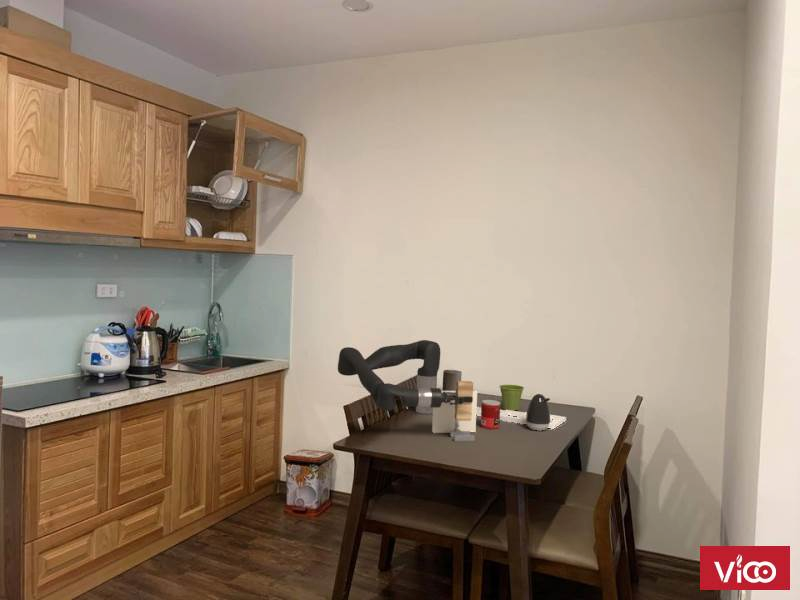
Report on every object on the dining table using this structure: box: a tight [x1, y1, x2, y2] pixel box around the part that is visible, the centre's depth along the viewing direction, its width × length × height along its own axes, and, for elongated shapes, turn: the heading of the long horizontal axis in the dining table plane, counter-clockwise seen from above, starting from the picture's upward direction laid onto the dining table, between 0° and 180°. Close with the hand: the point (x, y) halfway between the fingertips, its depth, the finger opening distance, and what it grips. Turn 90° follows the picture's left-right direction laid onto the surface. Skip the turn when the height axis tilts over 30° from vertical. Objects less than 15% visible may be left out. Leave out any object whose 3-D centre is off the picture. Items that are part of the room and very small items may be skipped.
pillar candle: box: [441, 368, 463, 391], centre depth 323 cm, size 10×10×15 cm
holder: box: [476, 406, 567, 430], centre depth 283 cm, size 45×18×3 cm, turn 58°
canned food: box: [480, 399, 501, 430], centre depth 263 cm, size 8×8×11 cm
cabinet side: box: [431, 390, 478, 442], centre depth 246 cm, size 14×18×17 cm
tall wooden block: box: [454, 380, 474, 421], centre depth 243 cm, size 4×6×15 cm, turn 100°
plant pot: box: [499, 384, 525, 411], centre depth 298 cm, size 12×12×11 cm
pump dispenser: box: [526, 393, 551, 432], centre depth 262 cm, size 10×10×15 cm
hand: (470, 398), depth 243 cm, fingers closed on tall wooden block, 3 cm apart
